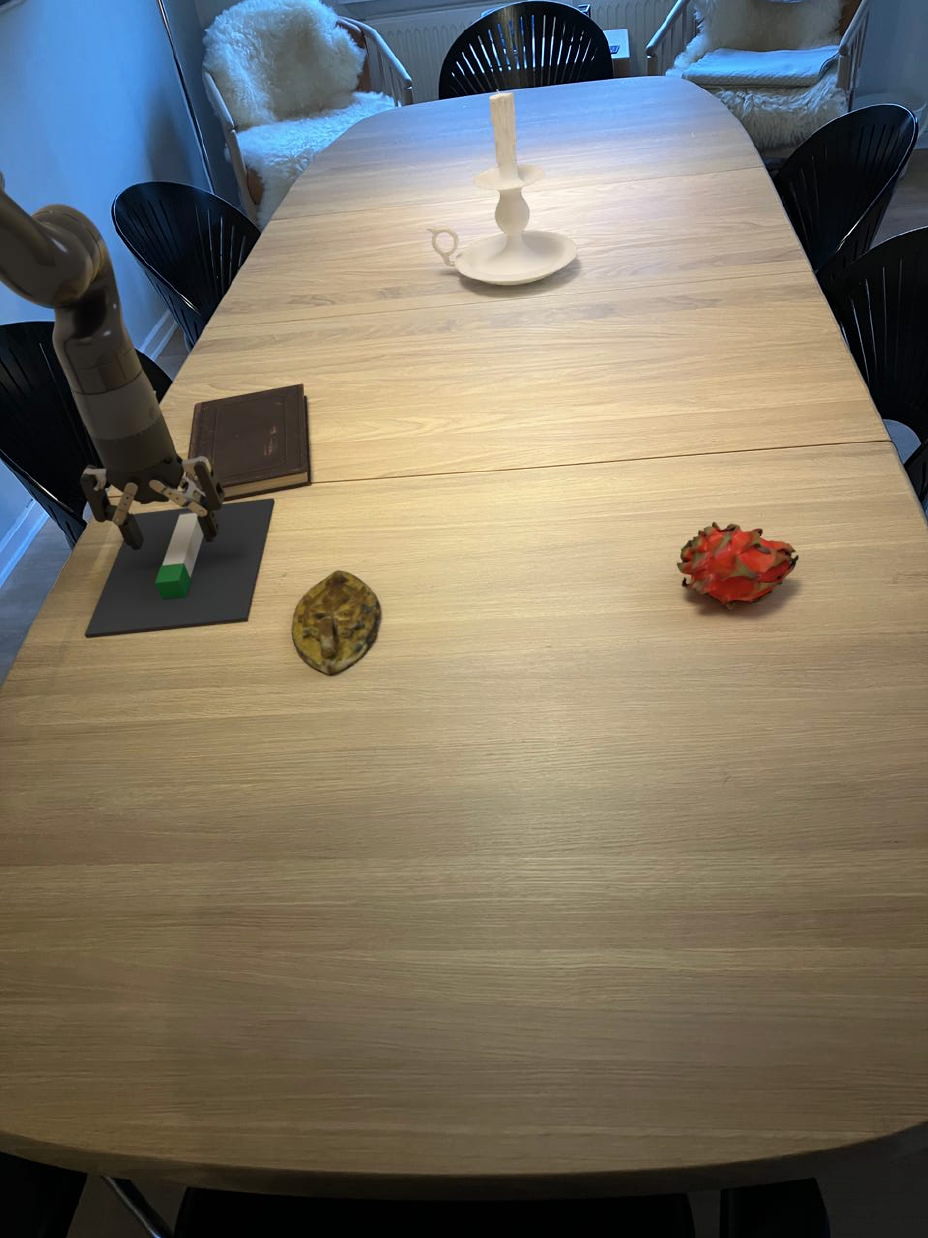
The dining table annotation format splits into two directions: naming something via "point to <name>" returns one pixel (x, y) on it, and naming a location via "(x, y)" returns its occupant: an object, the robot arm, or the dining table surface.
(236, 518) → the mat
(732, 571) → the dragon fruit
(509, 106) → the candlestick
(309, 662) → the seal
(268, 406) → the hardcover book
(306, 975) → the dining table surface
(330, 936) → the dining table surface
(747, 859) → the dining table surface
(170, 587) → the marker
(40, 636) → the dining table surface
